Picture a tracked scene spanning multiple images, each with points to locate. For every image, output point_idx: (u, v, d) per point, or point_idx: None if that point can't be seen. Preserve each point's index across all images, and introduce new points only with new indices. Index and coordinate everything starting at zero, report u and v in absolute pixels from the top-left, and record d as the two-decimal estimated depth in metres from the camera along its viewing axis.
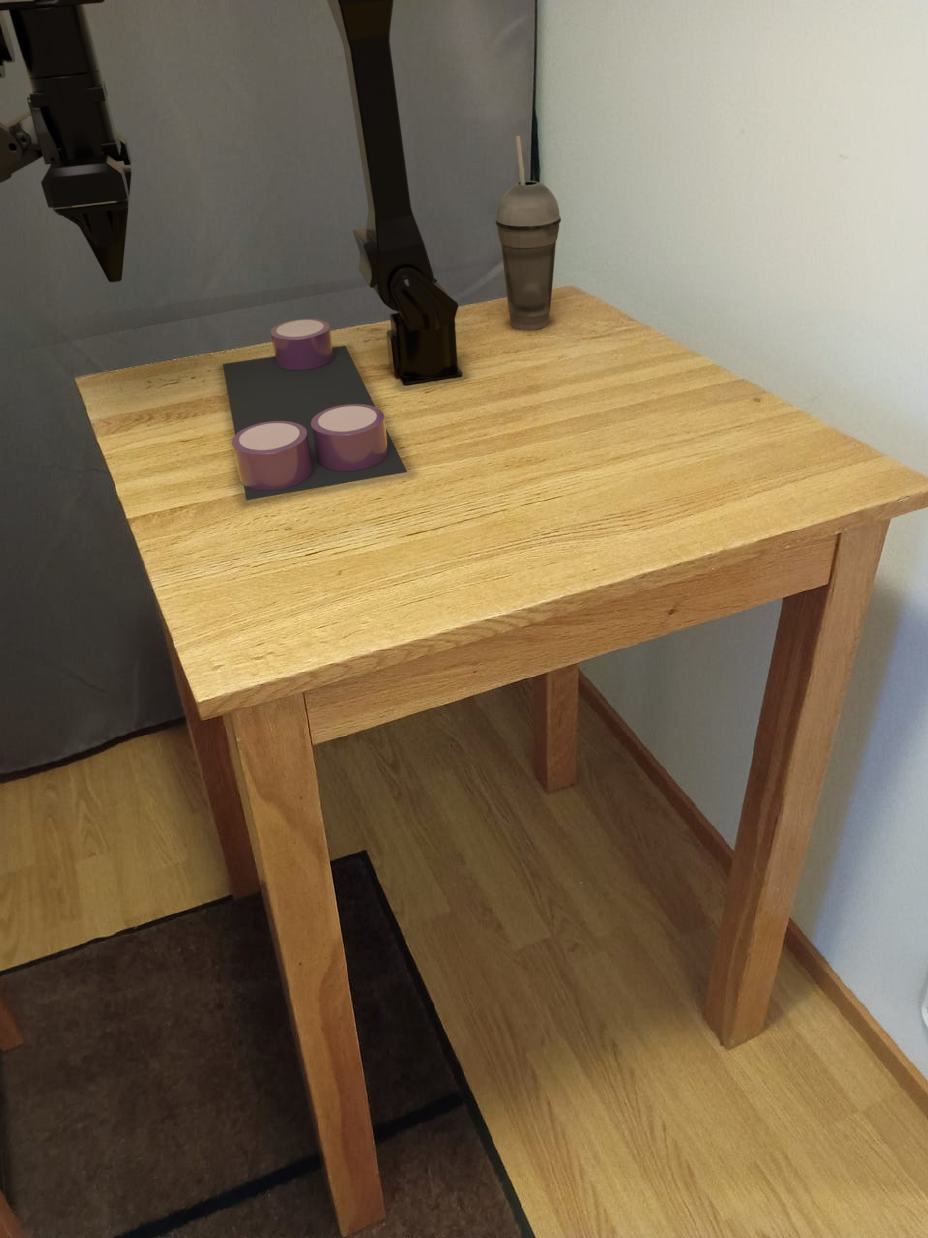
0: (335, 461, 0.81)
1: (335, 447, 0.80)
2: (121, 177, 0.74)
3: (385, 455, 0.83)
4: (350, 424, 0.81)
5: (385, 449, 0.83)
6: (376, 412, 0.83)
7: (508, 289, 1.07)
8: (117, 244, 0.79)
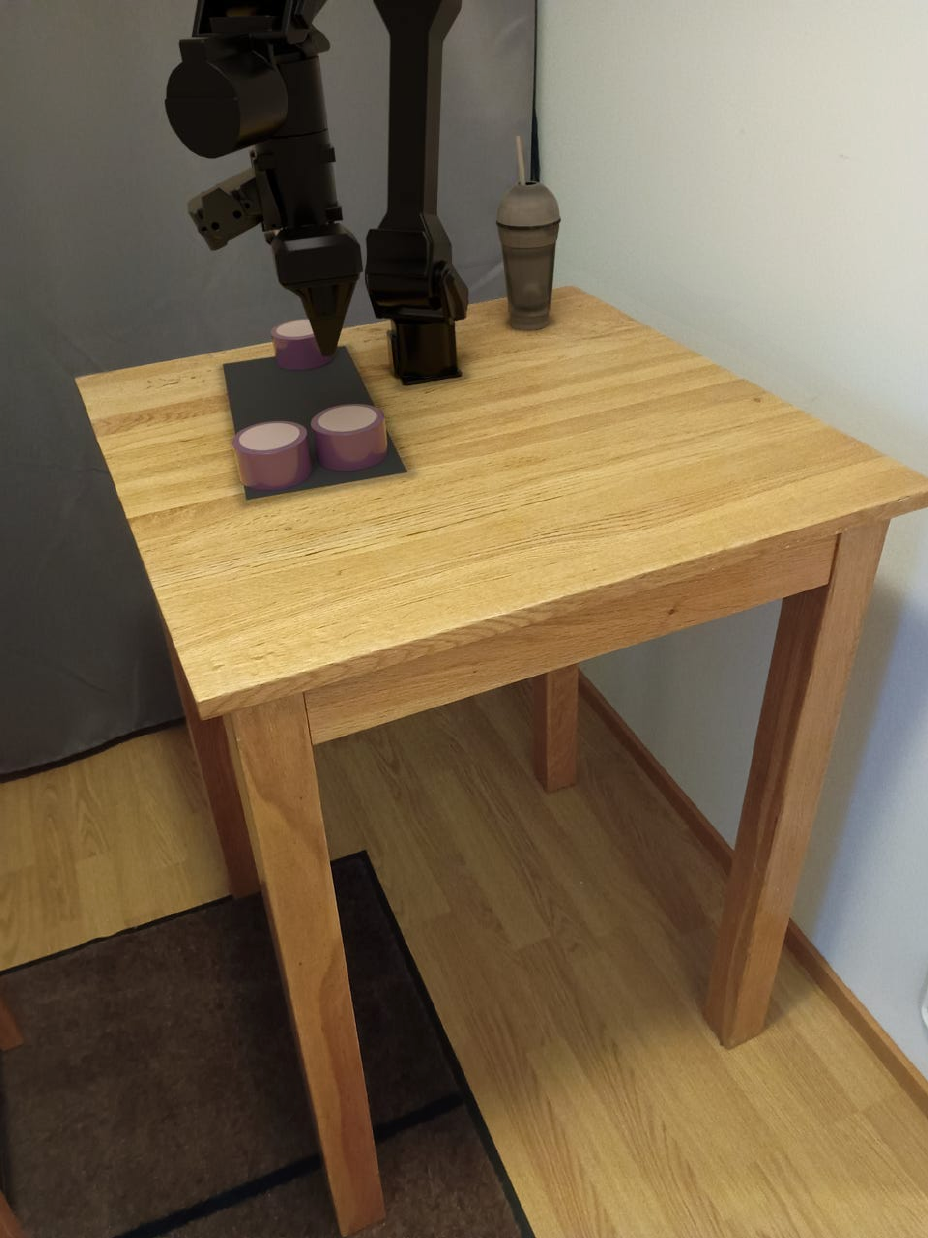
0: (335, 461, 0.81)
1: (335, 447, 0.80)
2: (359, 249, 0.67)
3: (385, 455, 0.83)
4: (350, 424, 0.81)
5: (385, 449, 0.83)
6: (376, 412, 0.83)
7: (508, 289, 1.07)
8: (337, 317, 0.72)
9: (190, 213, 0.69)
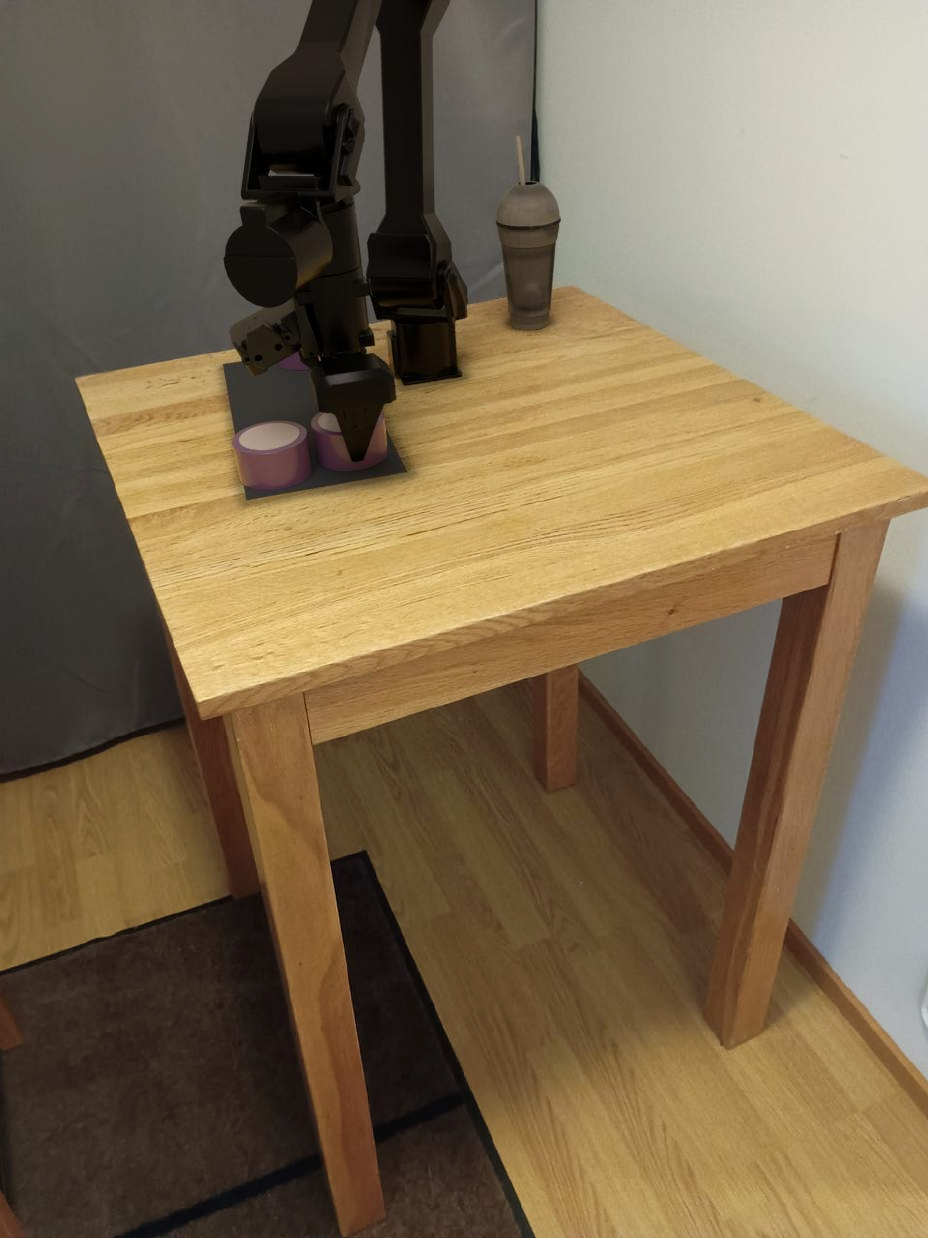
0: (335, 461, 0.81)
1: (335, 447, 0.80)
2: (393, 380, 0.72)
3: (385, 455, 0.83)
4: None
5: (385, 449, 0.83)
6: None
7: (508, 289, 1.07)
8: (367, 429, 0.78)
9: (234, 344, 0.74)
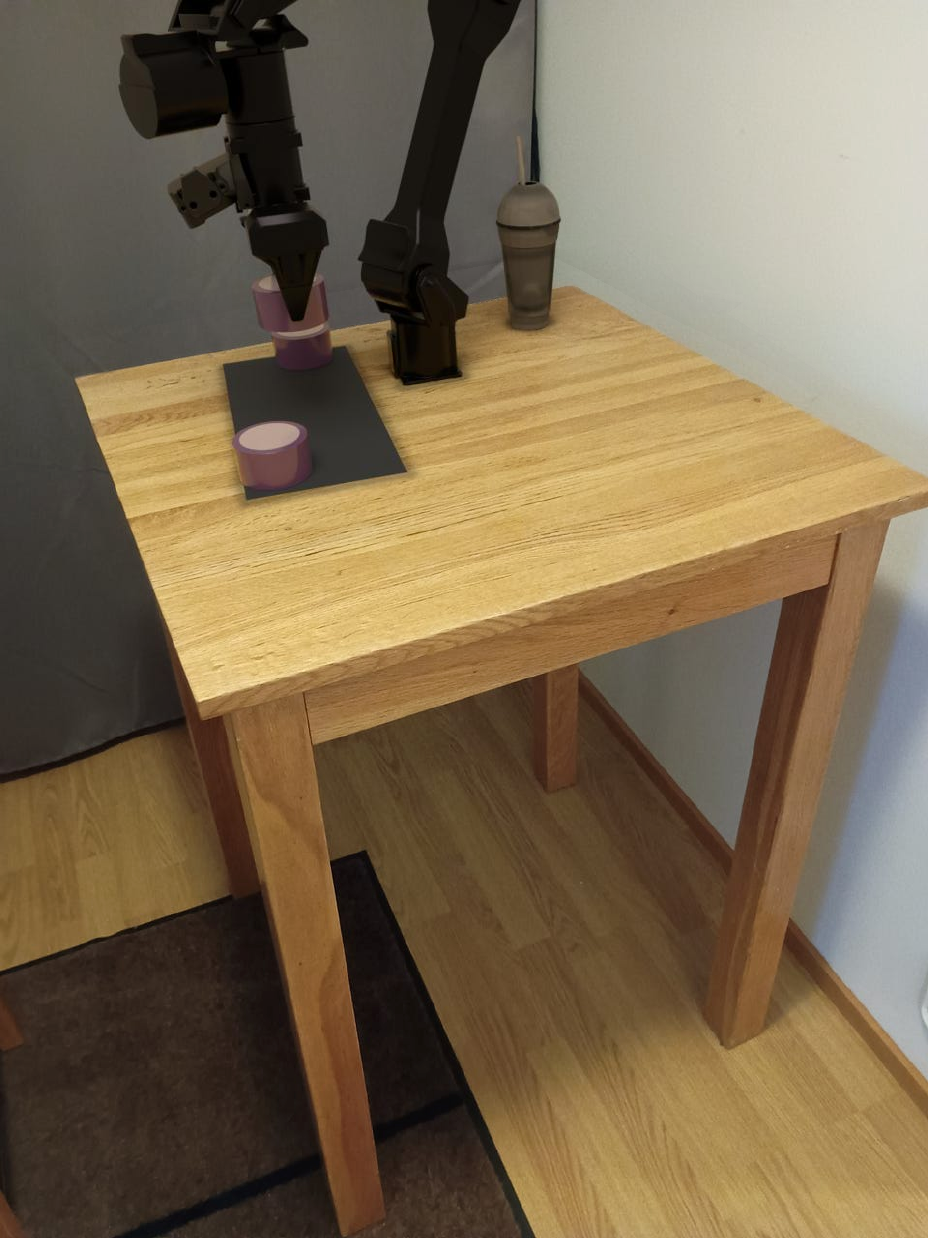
0: (275, 322, 0.83)
1: (274, 307, 0.82)
2: (325, 224, 0.73)
3: (325, 318, 0.85)
4: None
5: (325, 312, 0.84)
6: (317, 276, 0.84)
7: (508, 289, 1.07)
8: (305, 284, 0.80)
9: (170, 194, 0.75)
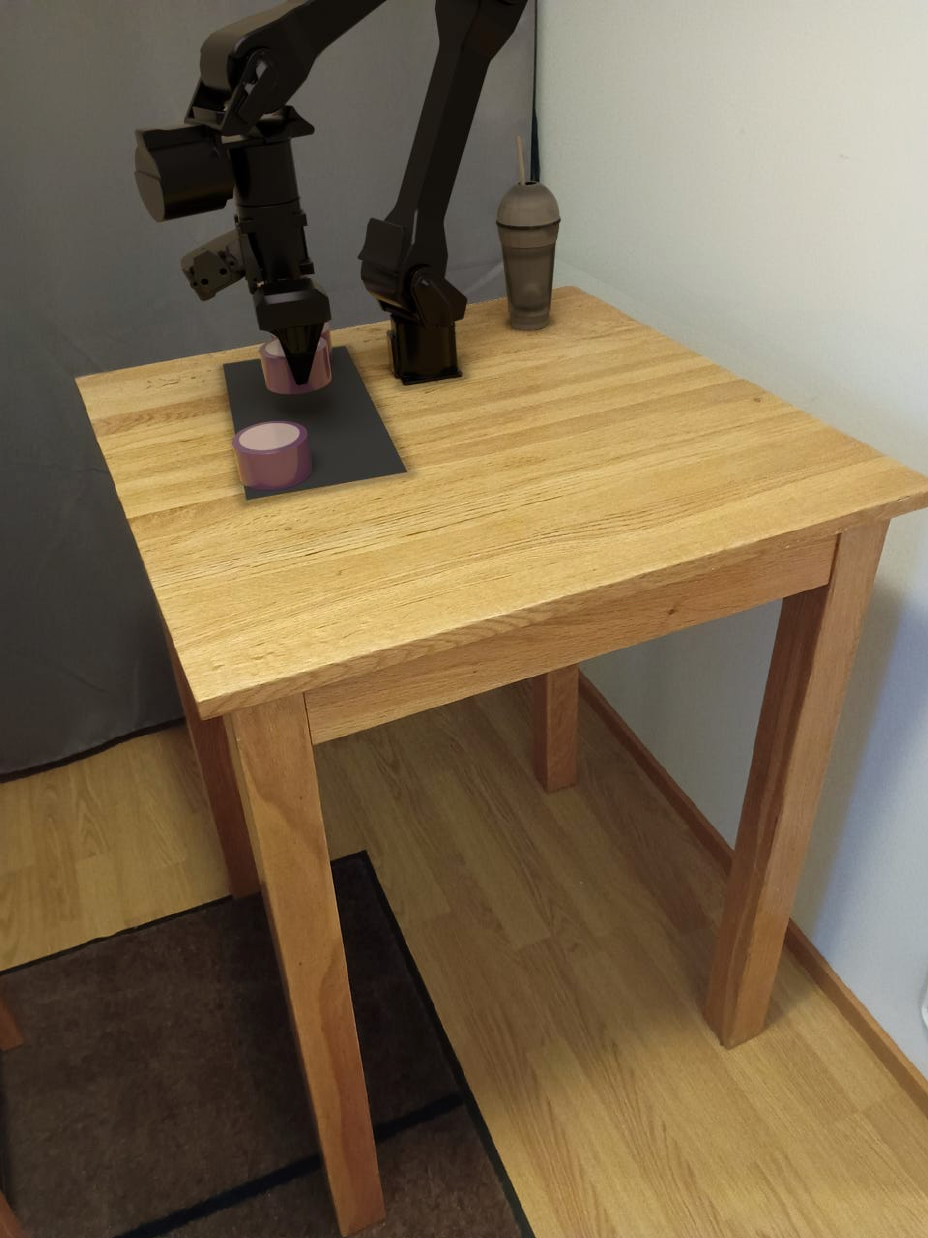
0: (281, 385, 0.88)
1: (280, 371, 0.87)
2: (328, 301, 0.78)
3: (328, 380, 0.90)
4: None
5: (328, 375, 0.89)
6: (320, 340, 0.89)
7: (508, 289, 1.07)
8: (309, 352, 0.85)
9: (183, 270, 0.80)
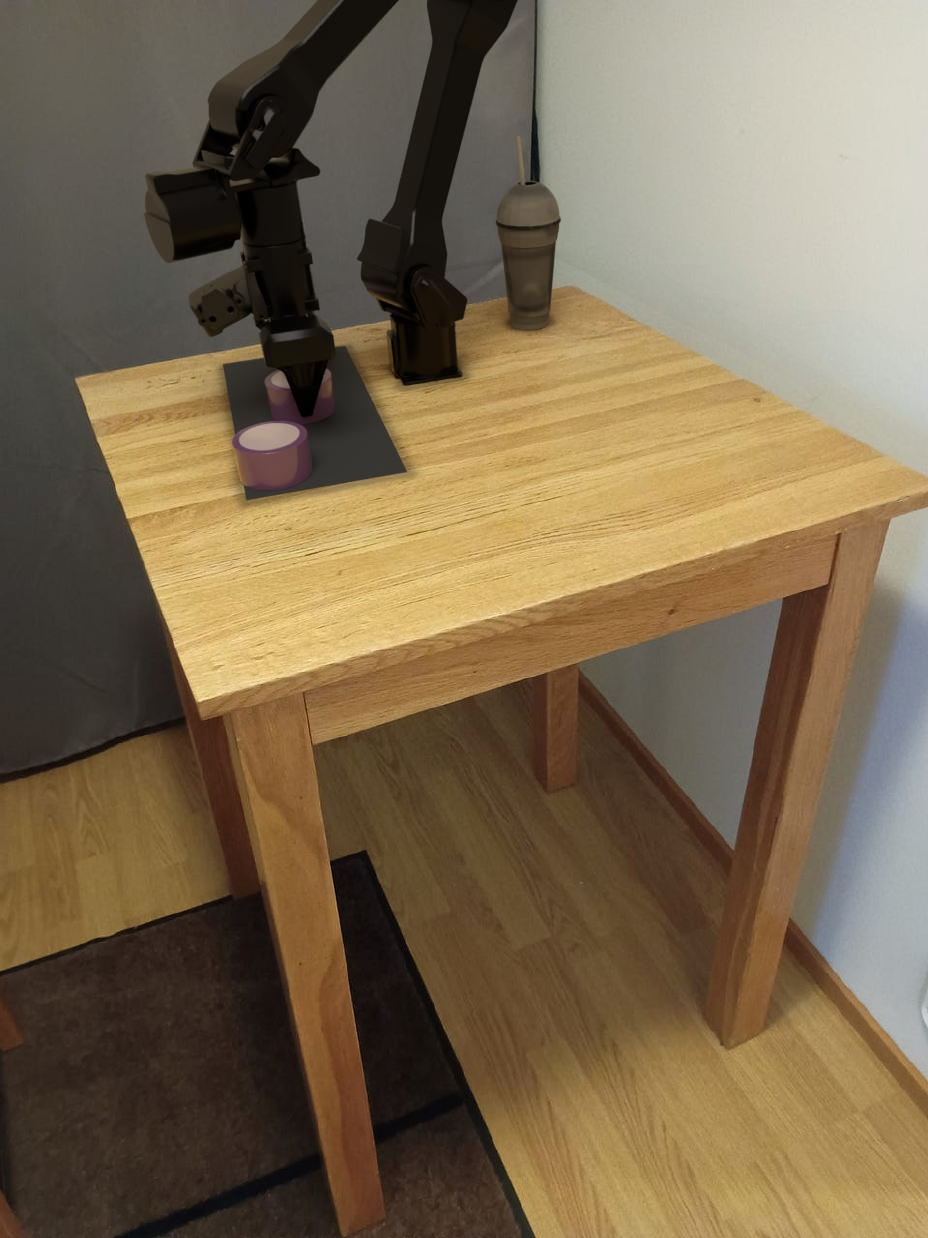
0: (286, 415, 0.89)
1: (285, 402, 0.89)
2: (333, 339, 0.80)
3: (332, 411, 0.91)
4: None
5: (332, 405, 0.91)
6: (325, 371, 0.91)
7: (508, 289, 1.07)
8: (314, 386, 0.87)
9: (191, 307, 0.82)
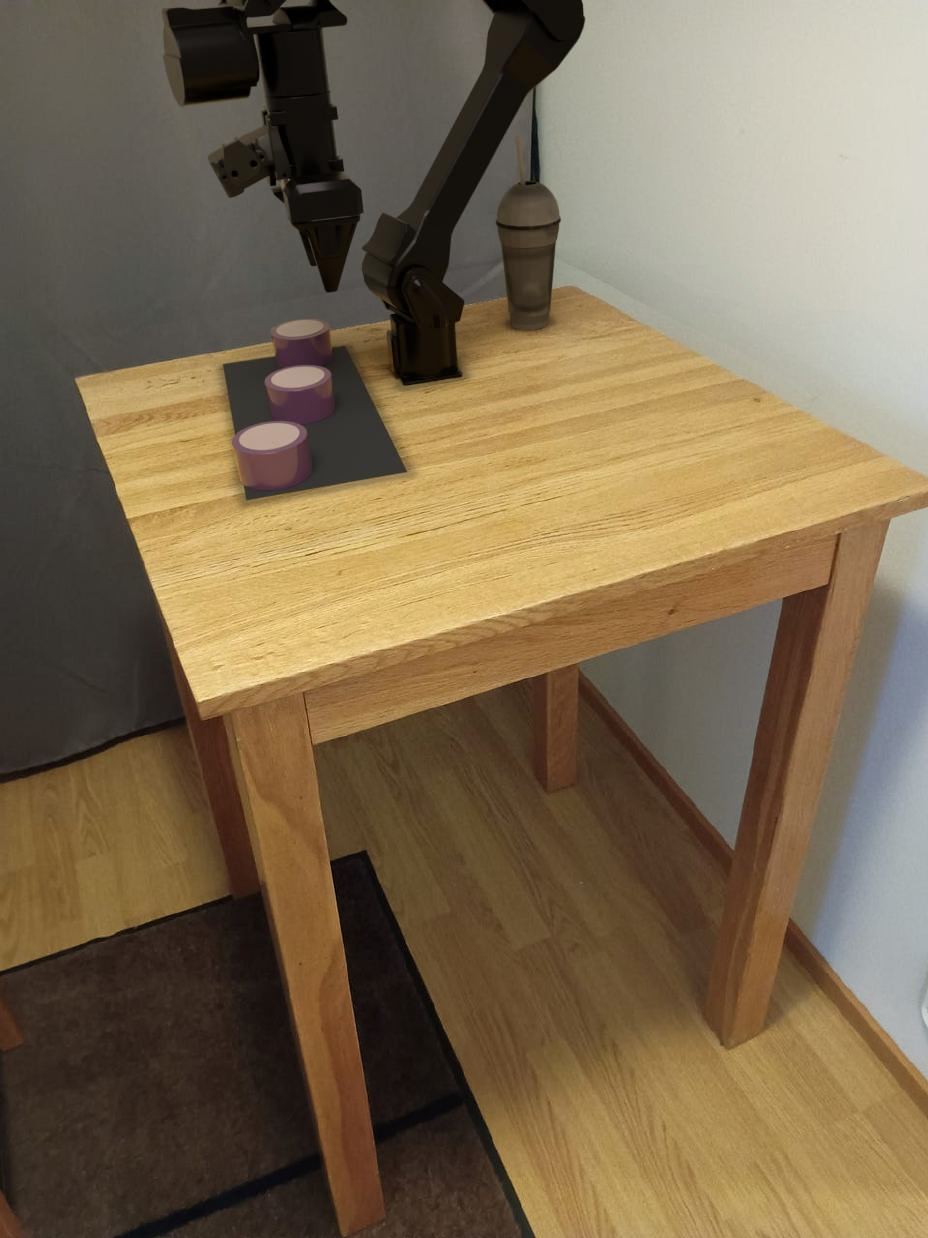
0: (286, 415, 0.89)
1: (285, 402, 0.89)
2: (360, 193, 0.77)
3: (332, 411, 0.91)
4: (300, 381, 0.89)
5: (332, 405, 0.91)
6: (325, 371, 0.91)
7: (508, 289, 1.07)
8: (340, 256, 0.83)
9: (212, 163, 0.79)
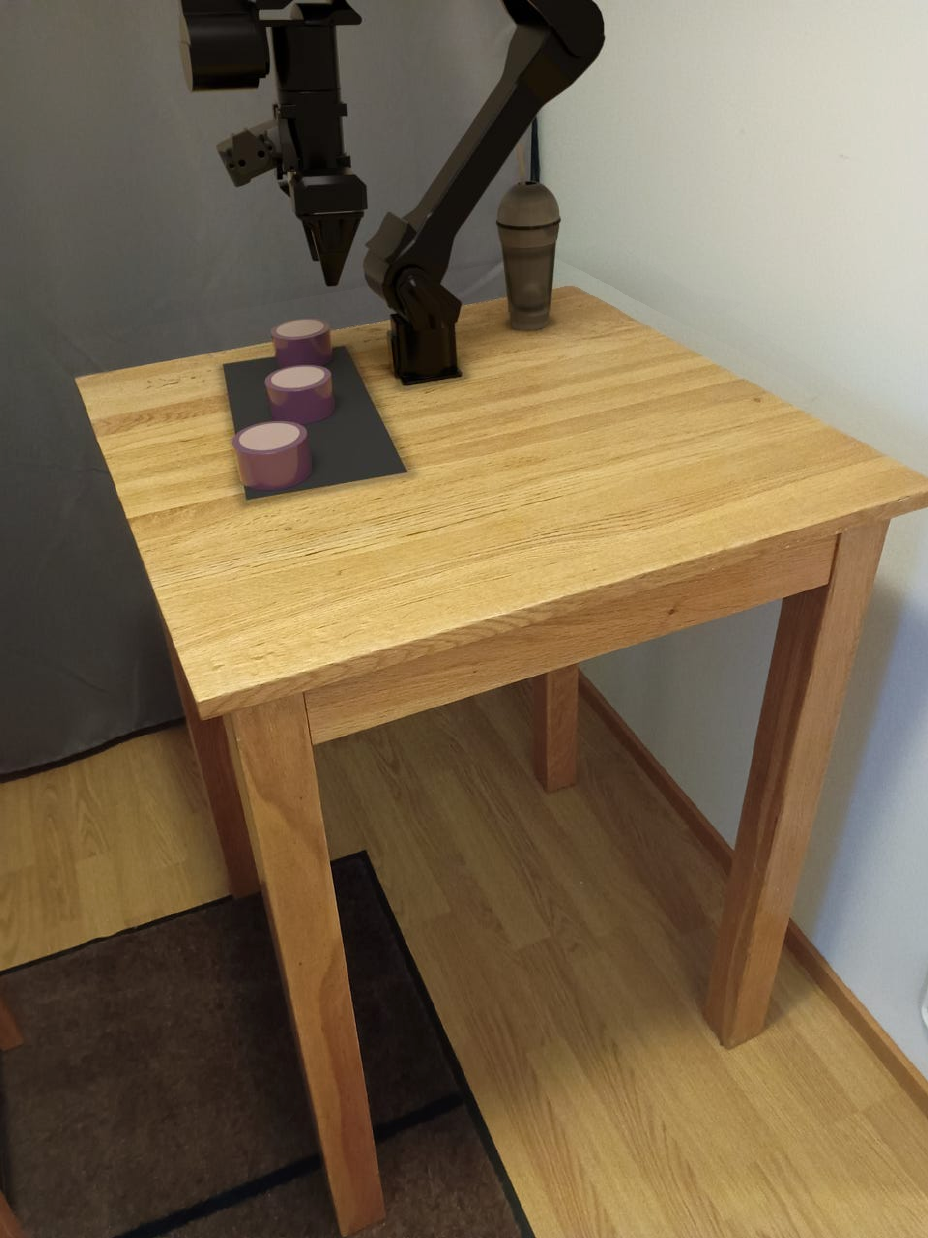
0: (286, 415, 0.89)
1: (285, 402, 0.89)
2: (365, 188, 0.78)
3: (332, 411, 0.91)
4: (300, 381, 0.89)
5: (332, 405, 0.91)
6: (325, 371, 0.91)
7: (508, 289, 1.07)
8: (342, 251, 0.83)
9: (220, 152, 0.80)
